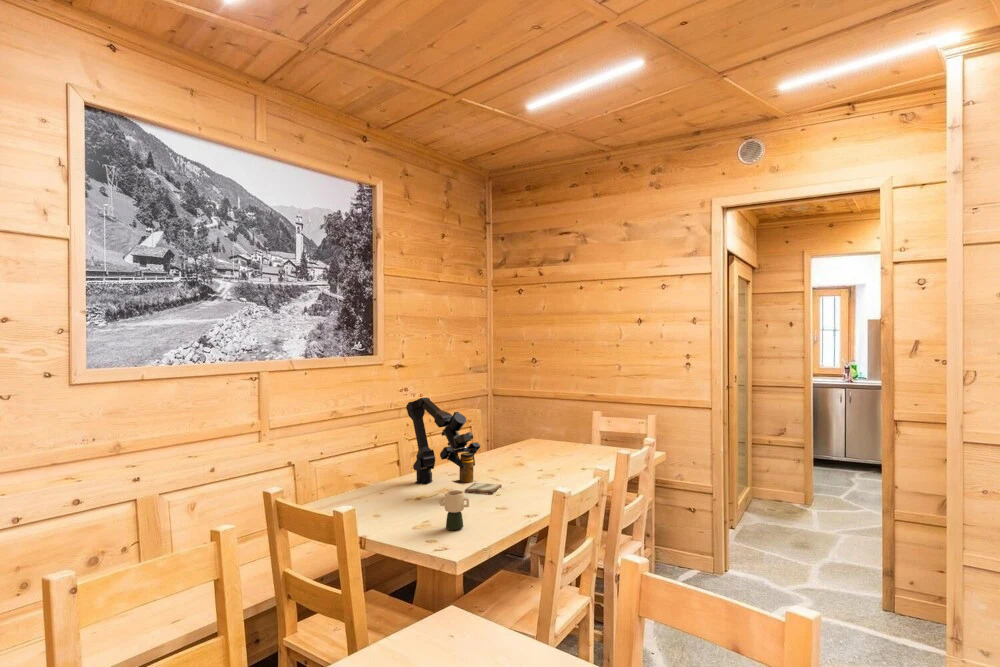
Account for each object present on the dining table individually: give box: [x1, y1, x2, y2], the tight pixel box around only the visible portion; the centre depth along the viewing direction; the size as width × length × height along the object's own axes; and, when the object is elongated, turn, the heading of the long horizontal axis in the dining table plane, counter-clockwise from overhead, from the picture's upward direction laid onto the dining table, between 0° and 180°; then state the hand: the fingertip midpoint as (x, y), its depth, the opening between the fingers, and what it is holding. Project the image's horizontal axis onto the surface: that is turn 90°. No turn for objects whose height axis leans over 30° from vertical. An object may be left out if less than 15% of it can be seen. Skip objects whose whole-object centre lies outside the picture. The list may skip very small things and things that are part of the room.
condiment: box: [451, 452, 478, 486], centre depth 248 cm, size 7×8×12 cm
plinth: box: [464, 482, 503, 495], centre depth 259 cm, size 13×13×2 cm
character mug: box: [439, 489, 470, 531], centre depth 205 cm, size 11×7×13 cm, turn 78°
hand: (468, 466), depth 247 cm, fingers closed on condiment, 6 cm apart
